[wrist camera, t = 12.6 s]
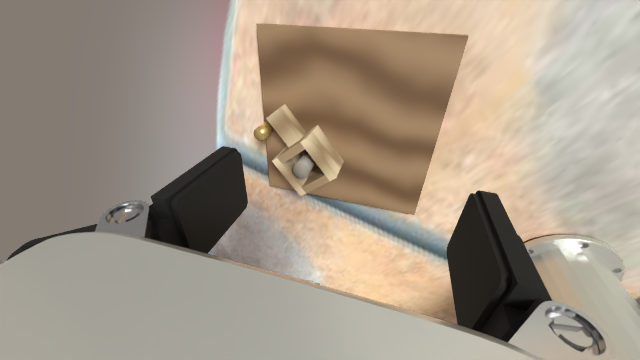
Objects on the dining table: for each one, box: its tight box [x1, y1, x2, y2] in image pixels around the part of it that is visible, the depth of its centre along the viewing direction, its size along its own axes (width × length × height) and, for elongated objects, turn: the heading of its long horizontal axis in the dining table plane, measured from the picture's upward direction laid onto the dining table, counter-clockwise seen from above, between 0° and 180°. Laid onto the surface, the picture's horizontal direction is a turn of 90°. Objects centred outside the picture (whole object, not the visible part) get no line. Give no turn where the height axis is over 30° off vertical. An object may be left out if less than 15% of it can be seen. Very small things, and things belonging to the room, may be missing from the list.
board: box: [256, 24, 468, 215], centre depth 31 cm, size 22×22×6 cm
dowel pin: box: [254, 121, 275, 141], centre depth 34 cm, size 2×2×4 cm
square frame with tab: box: [266, 104, 344, 196], centre depth 33 cm, size 10×6×4 cm, turn 38°
